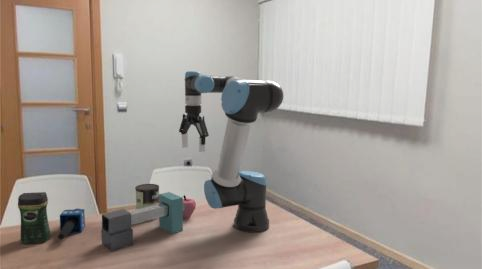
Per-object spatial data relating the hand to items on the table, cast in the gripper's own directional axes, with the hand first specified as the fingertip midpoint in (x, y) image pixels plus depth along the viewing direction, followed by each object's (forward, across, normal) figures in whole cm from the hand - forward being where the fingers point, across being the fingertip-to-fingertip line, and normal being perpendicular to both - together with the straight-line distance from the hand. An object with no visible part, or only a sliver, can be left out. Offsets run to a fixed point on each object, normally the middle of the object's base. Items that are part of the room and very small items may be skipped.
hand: (193, 149), depth 174 cm
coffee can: (+29, -3, -23) cm, 37 cm away
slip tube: (+22, +15, -34) cm, 43 cm away
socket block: (+29, +15, -22) cm, 39 cm away
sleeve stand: (+29, +15, -46) cm, 56 cm away
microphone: (+29, -7, -55) cm, 62 cm away
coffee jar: (+29, -9, -67) cm, 74 cm away
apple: (+29, +9, -11) cm, 32 cm away
